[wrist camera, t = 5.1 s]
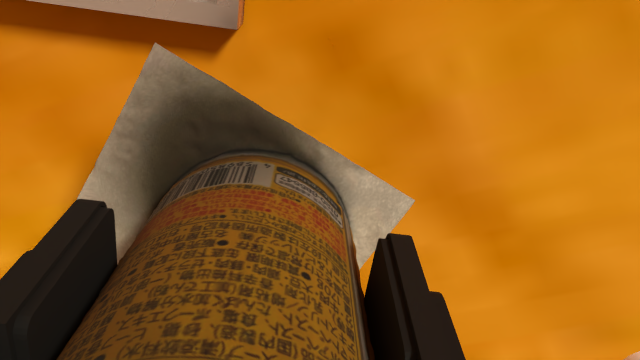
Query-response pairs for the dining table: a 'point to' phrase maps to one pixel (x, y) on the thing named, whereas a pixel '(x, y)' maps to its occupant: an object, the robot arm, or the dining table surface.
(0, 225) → the dining table surface
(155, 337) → the condiment
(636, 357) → the phone case
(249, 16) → the dining table surface
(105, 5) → the tray
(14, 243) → the dining table surface
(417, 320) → the robot arm
